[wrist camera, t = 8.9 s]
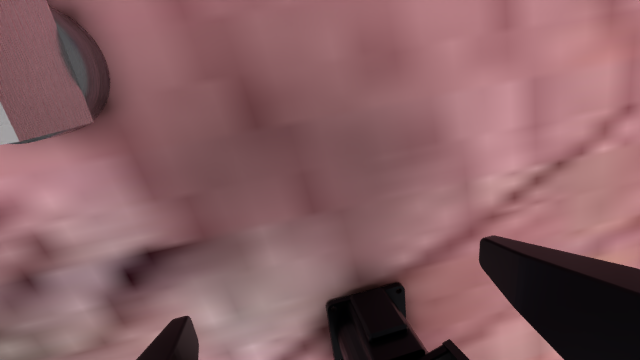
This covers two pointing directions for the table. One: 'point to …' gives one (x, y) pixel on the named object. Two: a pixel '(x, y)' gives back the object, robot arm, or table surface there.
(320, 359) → the table surface
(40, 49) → the socket
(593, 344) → the robot arm
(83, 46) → the ratchet
